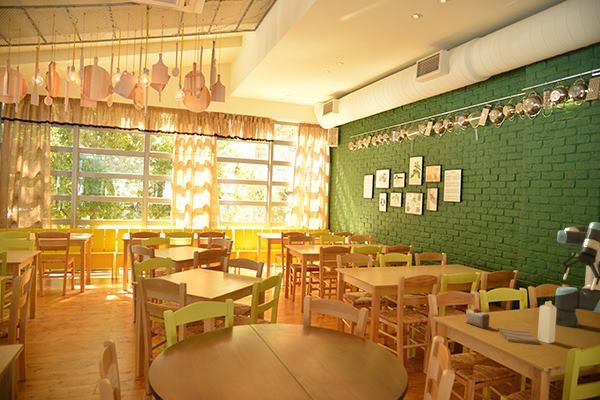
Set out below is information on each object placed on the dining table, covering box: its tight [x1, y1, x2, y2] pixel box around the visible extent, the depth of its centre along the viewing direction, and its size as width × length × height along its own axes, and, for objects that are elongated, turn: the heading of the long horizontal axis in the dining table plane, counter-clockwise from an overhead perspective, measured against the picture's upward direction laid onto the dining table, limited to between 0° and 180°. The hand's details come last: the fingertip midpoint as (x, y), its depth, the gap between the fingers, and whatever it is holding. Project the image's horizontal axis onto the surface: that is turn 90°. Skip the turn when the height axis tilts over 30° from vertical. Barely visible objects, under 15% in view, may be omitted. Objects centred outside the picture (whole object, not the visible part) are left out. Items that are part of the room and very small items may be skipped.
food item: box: [465, 308, 490, 329], centre depth 263 cm, size 14×8×10 cm, turn 30°
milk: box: [537, 300, 557, 344], centre depth 239 cm, size 6×6×22 cm
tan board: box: [497, 327, 541, 346], centre depth 243 cm, size 20×16×2 cm
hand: (578, 284), depth 233 cm, fingers open, 13 cm apart
